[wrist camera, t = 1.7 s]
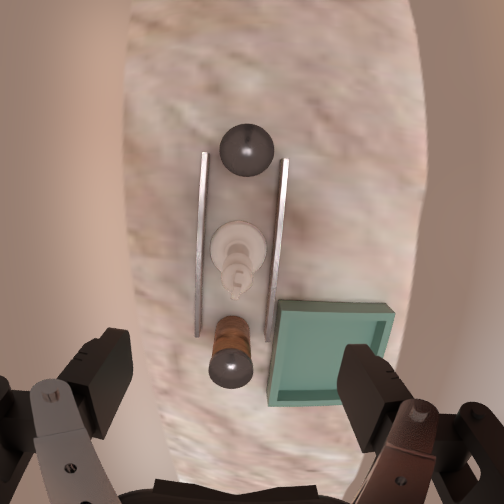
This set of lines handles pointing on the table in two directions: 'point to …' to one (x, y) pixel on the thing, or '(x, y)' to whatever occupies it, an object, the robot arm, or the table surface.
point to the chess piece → (238, 255)
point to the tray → (320, 347)
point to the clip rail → (235, 328)
